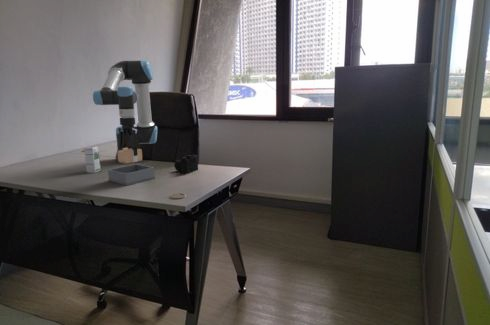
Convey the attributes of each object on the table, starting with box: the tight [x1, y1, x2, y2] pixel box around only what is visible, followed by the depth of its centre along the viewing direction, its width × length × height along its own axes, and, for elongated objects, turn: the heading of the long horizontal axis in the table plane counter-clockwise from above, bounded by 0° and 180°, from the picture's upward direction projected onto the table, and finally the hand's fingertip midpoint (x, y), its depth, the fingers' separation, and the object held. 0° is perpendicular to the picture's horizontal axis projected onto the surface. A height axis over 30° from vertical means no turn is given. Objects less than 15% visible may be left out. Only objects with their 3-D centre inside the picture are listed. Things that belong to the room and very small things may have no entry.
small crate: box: [116, 148, 143, 165], centre depth 190 cm, size 10×7×6 cm
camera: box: [174, 153, 199, 175], centre depth 210 cm, size 14×11×10 cm
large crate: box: [107, 163, 156, 186], centre depth 192 cm, size 18×16×6 cm
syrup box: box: [83, 145, 102, 174], centre depth 210 cm, size 6×6×14 cm
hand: (130, 160), depth 191 cm, fingers closed on small crate, 7 cm apart
